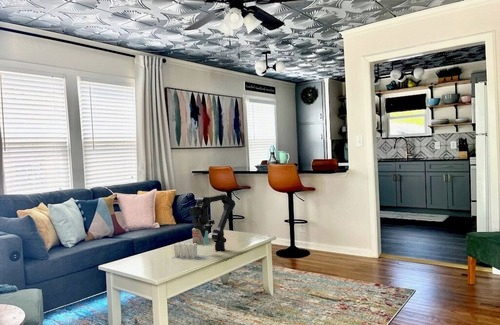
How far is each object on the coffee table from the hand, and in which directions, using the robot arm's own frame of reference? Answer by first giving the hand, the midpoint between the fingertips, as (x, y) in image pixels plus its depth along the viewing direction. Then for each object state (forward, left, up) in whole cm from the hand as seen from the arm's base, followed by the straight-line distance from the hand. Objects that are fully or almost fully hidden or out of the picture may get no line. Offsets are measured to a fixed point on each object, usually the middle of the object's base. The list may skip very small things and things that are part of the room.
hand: (205, 236), depth 271 cm
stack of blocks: (+11, -45, -13) cm, 48 cm away
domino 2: (+16, +3, -13) cm, 21 cm away
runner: (+10, +5, -13) cm, 17 cm away
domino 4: (+8, +6, -13) cm, 16 cm away
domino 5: (0, 0, -6) cm, 6 cm away
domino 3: (+12, +5, -13) cm, 18 cm away
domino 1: (+20, +2, -13) cm, 24 cm away
